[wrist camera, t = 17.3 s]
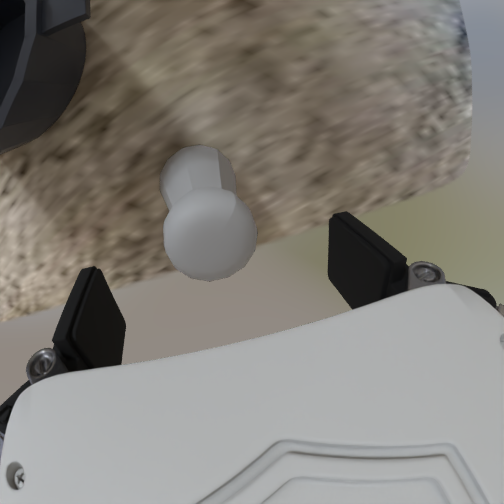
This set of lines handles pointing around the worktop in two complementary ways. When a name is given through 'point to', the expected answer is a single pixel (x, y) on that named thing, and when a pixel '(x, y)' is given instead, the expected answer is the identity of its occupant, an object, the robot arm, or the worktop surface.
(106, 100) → the worktop surface
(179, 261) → the salt shaker
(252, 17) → the worktop surface
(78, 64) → the pot
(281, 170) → the worktop surface
